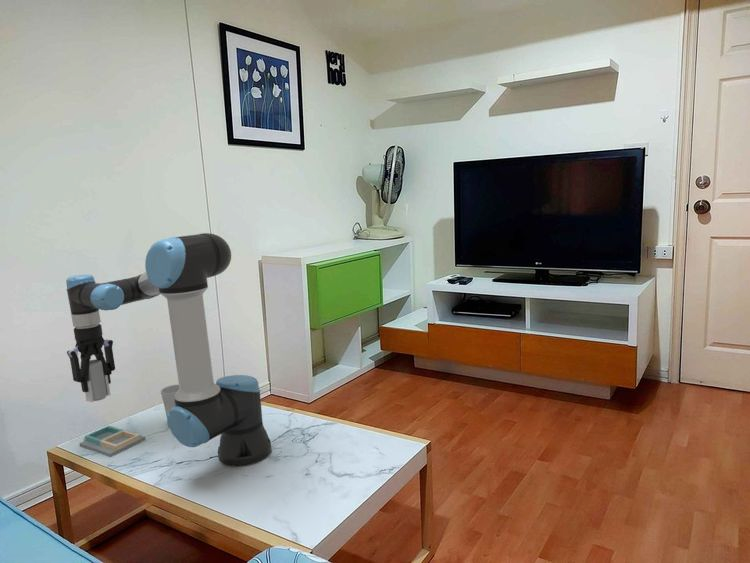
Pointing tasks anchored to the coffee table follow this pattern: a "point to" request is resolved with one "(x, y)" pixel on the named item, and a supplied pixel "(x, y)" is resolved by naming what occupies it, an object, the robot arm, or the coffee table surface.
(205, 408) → the robot arm
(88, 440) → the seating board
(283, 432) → the coffee table surface
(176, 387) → the cup
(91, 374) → the beverage can
